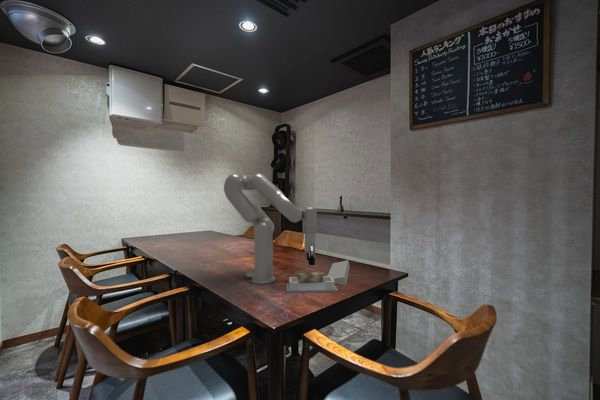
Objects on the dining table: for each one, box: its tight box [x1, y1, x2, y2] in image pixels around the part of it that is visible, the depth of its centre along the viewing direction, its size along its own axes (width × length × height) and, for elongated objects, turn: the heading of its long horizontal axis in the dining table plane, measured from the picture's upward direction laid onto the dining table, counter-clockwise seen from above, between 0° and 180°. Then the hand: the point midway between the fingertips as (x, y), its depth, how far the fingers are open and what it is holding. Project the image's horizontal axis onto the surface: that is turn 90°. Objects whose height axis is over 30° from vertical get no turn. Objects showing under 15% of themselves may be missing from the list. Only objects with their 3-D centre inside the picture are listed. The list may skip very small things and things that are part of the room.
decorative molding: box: [326, 260, 351, 287], centre depth 149 cm, size 34×5×10 cm
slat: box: [293, 271, 326, 283], centre depth 138 cm, size 16×4×4 cm, turn 97°
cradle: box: [285, 275, 339, 294], centre depth 127 cm, size 24×10×4 cm, turn 94°
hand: (310, 262), depth 138 cm, fingers open, 9 cm apart
